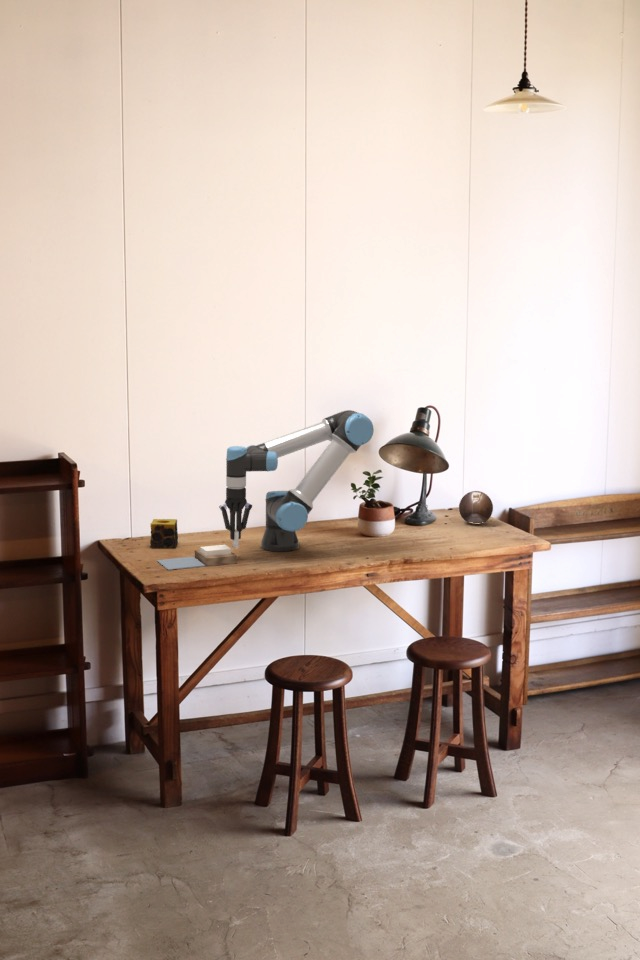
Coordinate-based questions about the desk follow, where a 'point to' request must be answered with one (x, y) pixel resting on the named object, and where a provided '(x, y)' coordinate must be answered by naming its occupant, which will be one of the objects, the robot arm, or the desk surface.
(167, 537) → the candle
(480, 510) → the bronze metallic ball
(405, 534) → the desk surface
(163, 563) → the mat
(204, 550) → the tile
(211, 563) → the deck
